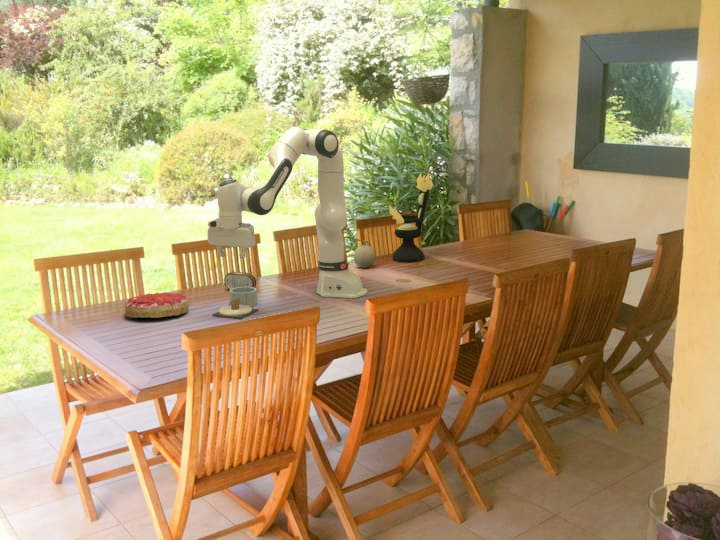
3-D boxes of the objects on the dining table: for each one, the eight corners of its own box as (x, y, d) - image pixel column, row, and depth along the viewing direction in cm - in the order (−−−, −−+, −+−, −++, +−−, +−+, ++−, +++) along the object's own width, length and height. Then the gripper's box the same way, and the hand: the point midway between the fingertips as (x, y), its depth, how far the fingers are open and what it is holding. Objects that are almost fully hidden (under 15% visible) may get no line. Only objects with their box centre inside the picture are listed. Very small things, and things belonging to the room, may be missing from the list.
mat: (258, 311, 313) (258, 309, 313) (240, 319, 301) (240, 317, 301) (230, 308, 318) (230, 306, 318) (212, 316, 307) (212, 314, 306)
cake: (157, 323, 294) (155, 302, 293) (111, 318, 307) (109, 298, 306) (201, 311, 316) (200, 292, 314) (157, 307, 328) (155, 288, 327)
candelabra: (388, 256, 415) (387, 172, 406) (429, 254, 418) (429, 170, 408) (393, 263, 397) (393, 175, 387) (436, 261, 399) (436, 174, 389)
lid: (258, 309, 313) (257, 296, 312) (240, 317, 301) (239, 304, 300) (230, 306, 318) (230, 293, 317) (212, 314, 306) (211, 301, 305)
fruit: (379, 266, 391) (379, 237, 388) (367, 270, 382) (367, 240, 379) (362, 264, 397) (361, 235, 394) (350, 268, 387) (349, 239, 384)
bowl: (262, 301, 327) (261, 288, 325) (248, 308, 317) (247, 294, 316) (239, 299, 331) (239, 285, 330) (225, 305, 321) (224, 291, 320)
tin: (257, 291, 346) (256, 272, 344) (253, 292, 343) (253, 274, 341) (227, 289, 351) (226, 270, 349) (223, 290, 348) (222, 272, 346)
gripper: (257, 222, 300) (259, 257, 303) (213, 220, 309) (215, 254, 312) (249, 224, 295) (250, 260, 298) (204, 222, 303) (206, 257, 306)
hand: (232, 257), depth 305 cm, fingers open, 8 cm apart
